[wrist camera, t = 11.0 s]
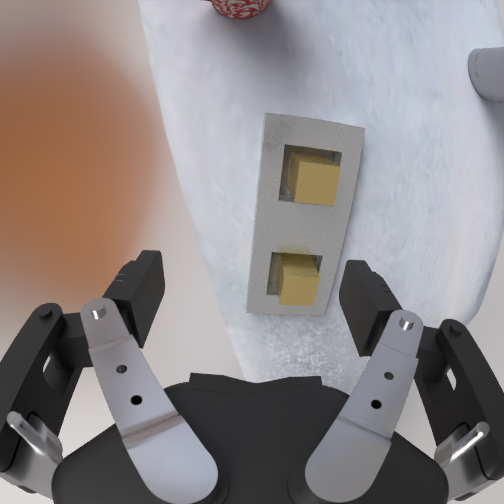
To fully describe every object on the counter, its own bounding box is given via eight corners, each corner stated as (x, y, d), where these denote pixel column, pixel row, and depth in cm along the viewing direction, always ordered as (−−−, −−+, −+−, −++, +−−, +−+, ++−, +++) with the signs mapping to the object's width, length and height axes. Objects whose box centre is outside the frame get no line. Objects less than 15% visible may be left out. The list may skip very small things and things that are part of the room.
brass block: (309, 251, 41) (319, 277, 35) (304, 277, 43) (312, 306, 37) (279, 249, 41) (284, 275, 35) (275, 275, 43) (279, 304, 37)
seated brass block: (324, 156, 35) (340, 167, 29) (319, 189, 37) (333, 206, 31) (290, 152, 35) (299, 161, 28) (286, 185, 37) (294, 202, 31)
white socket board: (264, 112, 32) (265, 112, 30) (356, 126, 33) (365, 128, 30) (246, 300, 45) (246, 312, 43) (320, 304, 46) (323, 315, 43)
